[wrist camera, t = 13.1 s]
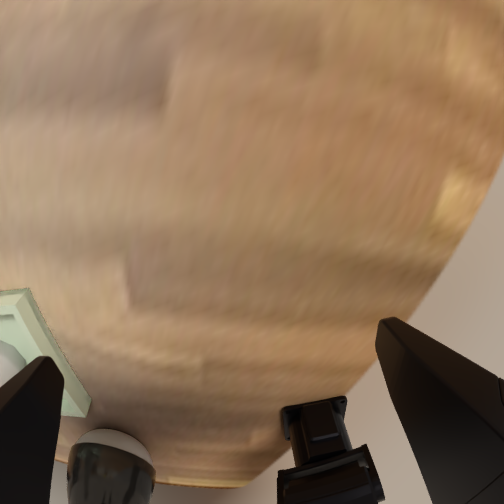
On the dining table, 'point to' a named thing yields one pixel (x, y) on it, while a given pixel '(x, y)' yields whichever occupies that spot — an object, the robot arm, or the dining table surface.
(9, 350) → the salt shaker
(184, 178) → the dining table surface
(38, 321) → the tray
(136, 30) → the dining table surface
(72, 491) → the dark grey egg shape
